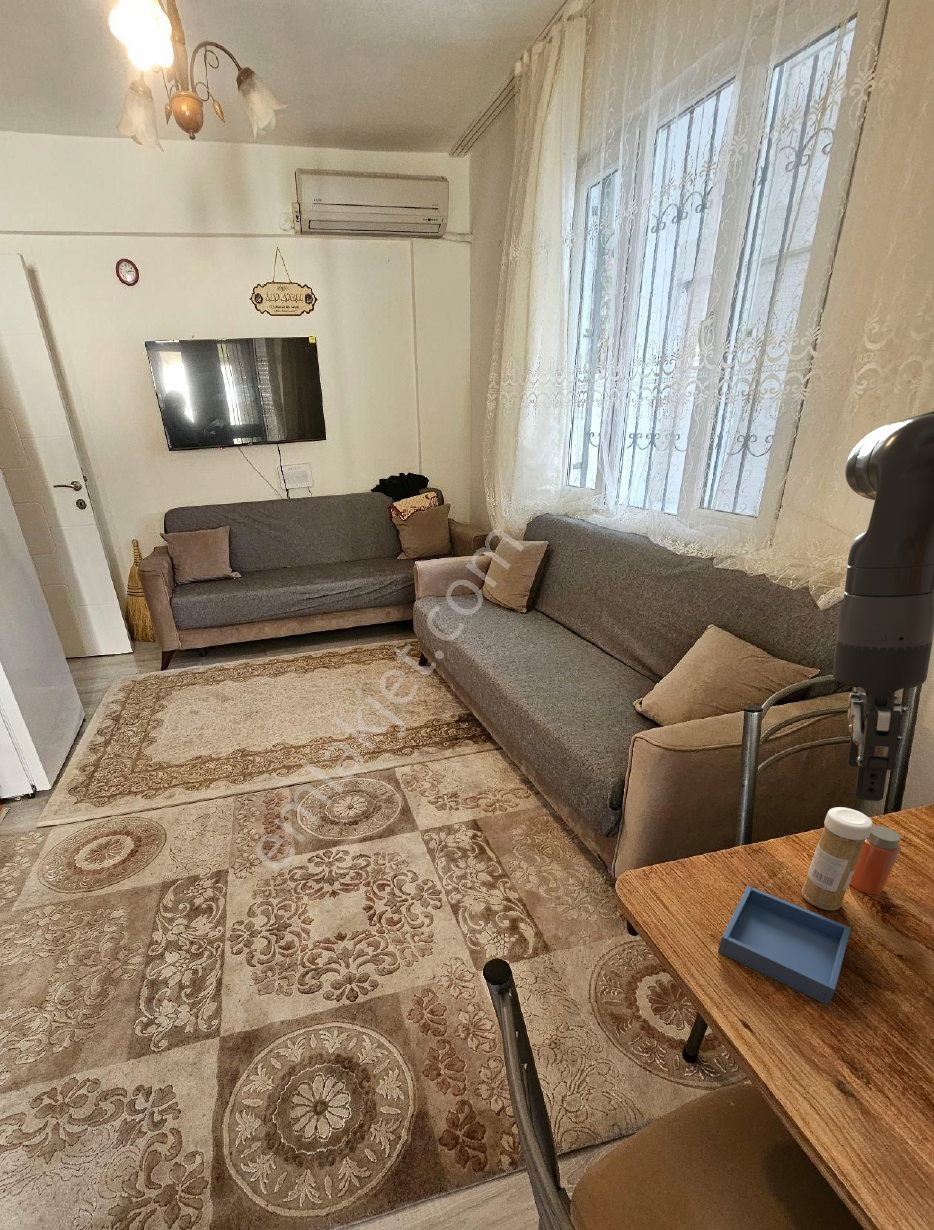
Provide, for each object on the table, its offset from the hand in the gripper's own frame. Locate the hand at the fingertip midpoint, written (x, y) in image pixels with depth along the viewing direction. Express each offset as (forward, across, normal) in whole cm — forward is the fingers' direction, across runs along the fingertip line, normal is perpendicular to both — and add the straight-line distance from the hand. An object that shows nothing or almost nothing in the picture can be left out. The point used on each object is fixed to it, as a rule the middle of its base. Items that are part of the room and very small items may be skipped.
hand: (863, 781), depth 63 cm
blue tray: (+21, -4, +6) cm, 23 cm away
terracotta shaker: (+22, +14, -3) cm, 26 cm away
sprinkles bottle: (+21, +8, +2) cm, 23 cm away
